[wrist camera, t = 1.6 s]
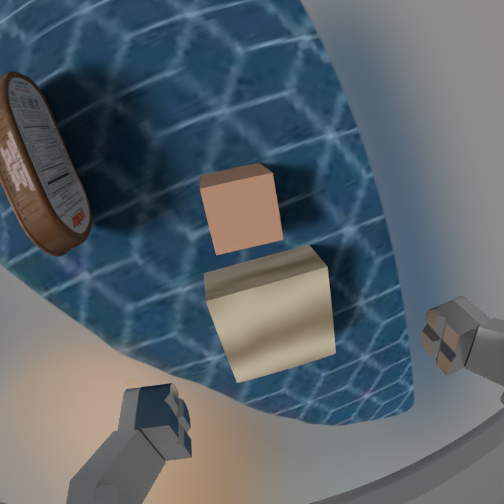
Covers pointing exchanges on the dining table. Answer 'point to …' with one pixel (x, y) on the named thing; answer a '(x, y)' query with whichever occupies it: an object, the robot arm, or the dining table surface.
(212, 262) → the dining table surface
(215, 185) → the cube
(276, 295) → the base block
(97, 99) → the dining table surface
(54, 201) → the tin
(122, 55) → the dining table surface
